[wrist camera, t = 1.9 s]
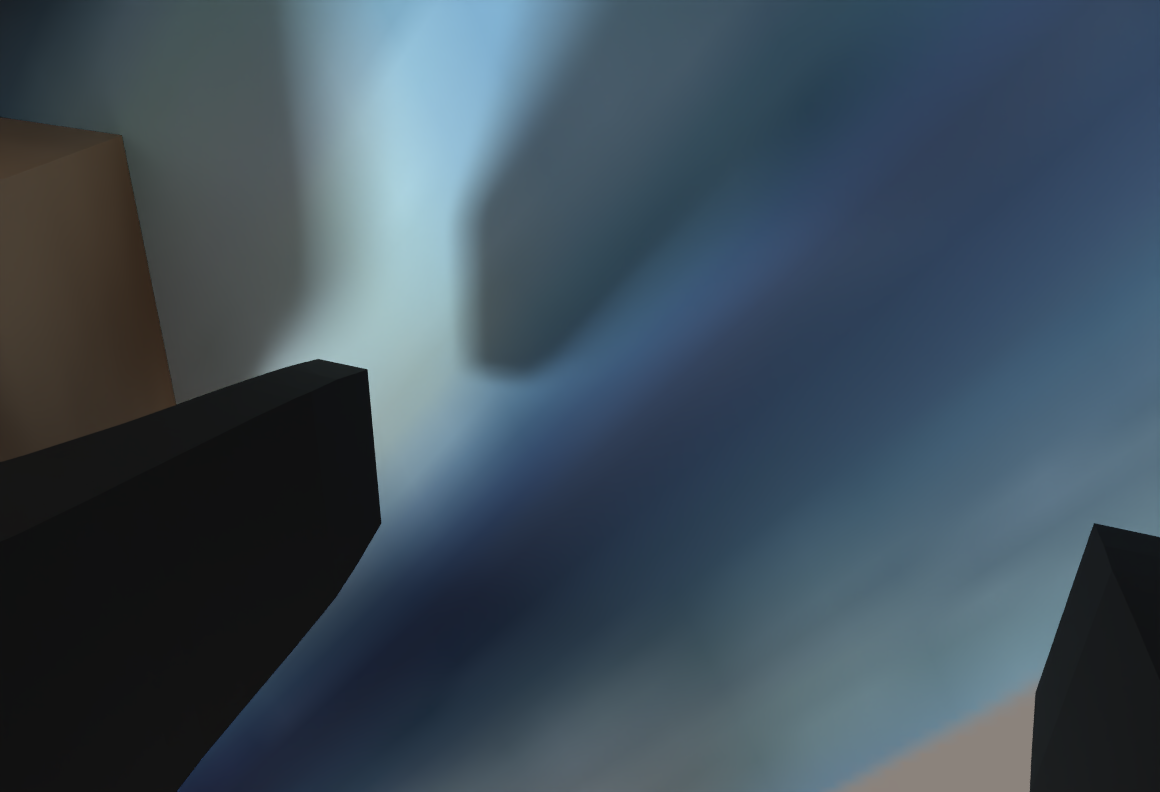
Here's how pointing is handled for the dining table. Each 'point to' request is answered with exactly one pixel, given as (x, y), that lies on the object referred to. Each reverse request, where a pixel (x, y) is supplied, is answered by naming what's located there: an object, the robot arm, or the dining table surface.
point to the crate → (72, 291)
